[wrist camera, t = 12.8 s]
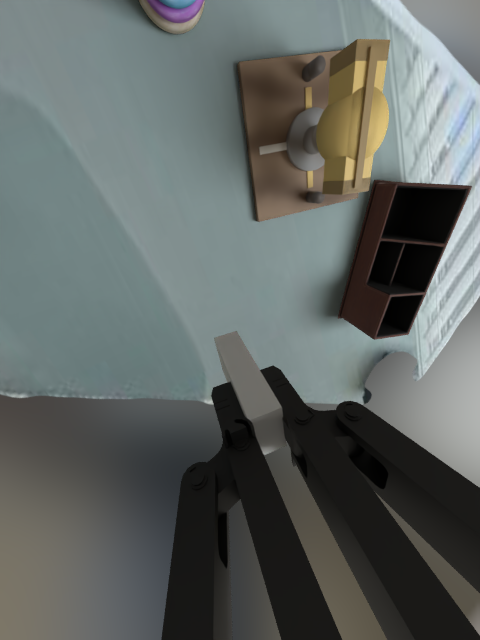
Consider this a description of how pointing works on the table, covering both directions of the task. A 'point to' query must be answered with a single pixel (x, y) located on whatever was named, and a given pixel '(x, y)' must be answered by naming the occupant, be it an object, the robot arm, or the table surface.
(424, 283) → the desk organizer
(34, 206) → the table surface
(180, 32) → the stacking toy
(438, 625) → the robot arm
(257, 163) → the base
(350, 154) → the yellow block with ball
